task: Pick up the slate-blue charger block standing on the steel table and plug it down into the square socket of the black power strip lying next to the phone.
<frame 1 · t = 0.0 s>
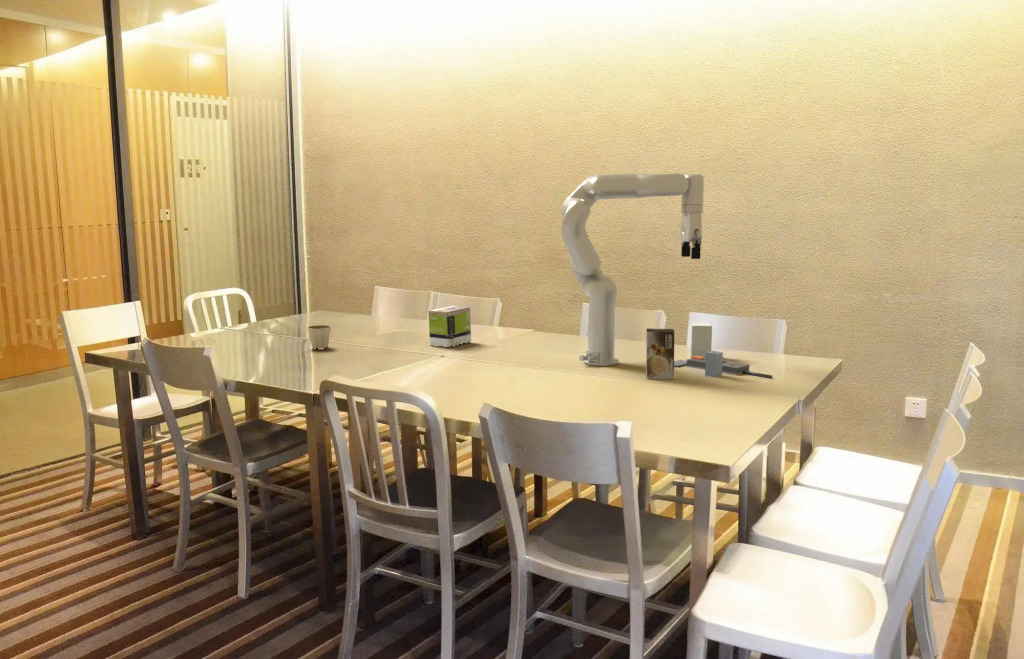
hand: (690, 257, 303), 37 cm above the table, tool pointing down, fingers open, 9 cm apart
flower pot: (320, 348, 335), on the table
power strip: (717, 368, 293), on the table
charger block: (713, 375, 283), on the table
supplement box: (700, 358, 312), on the table
coffee box: (659, 378, 281), on the table
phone: (678, 365, 302), on the table
tea box: (450, 344, 342), on the table
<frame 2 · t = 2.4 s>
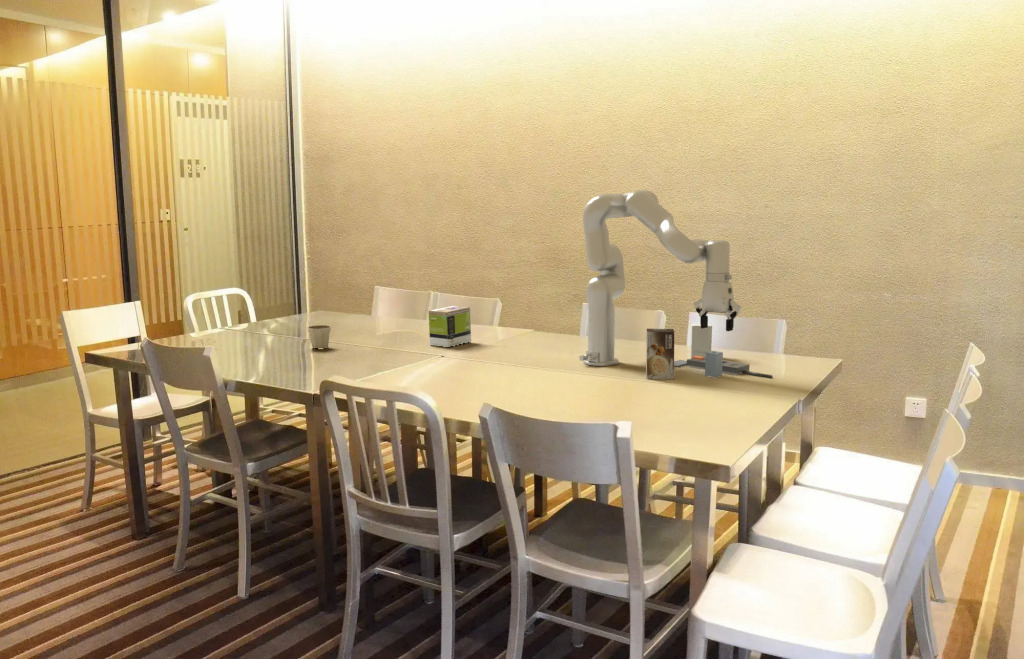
hand: (716, 329, 280), 16 cm above the table, tool pointing down, fingers open, 9 cm apart
nothing on the table moved.
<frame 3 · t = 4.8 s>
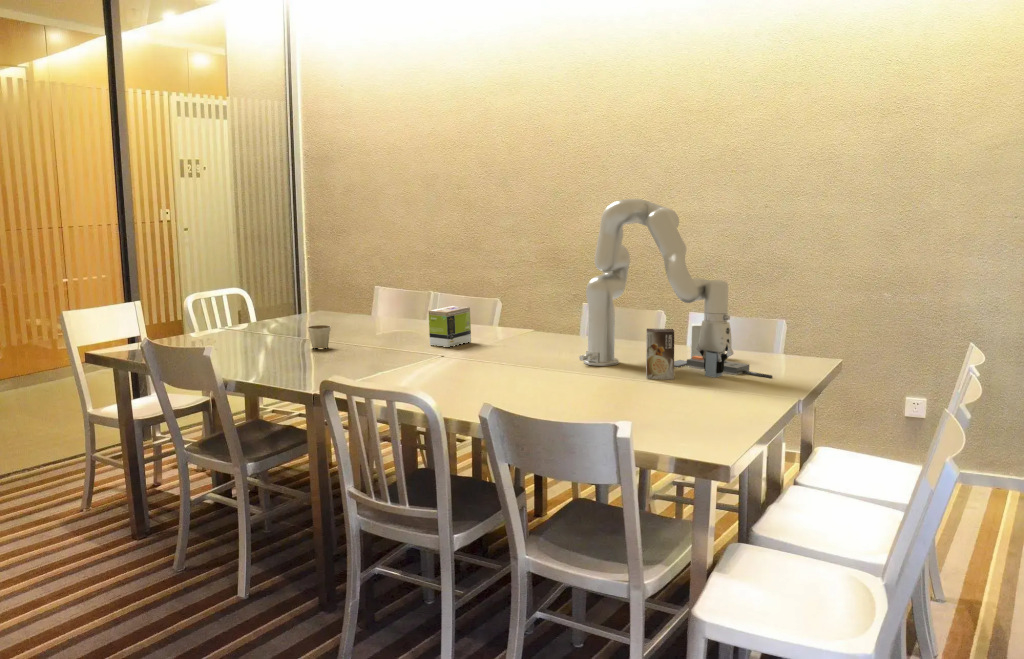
hand: (713, 371, 283), 2 cm above the table, tool pointing down, fingers closed on charger block, 4 cm apart
charger block: (713, 375, 283), on the table, touching gripper
everything else where it was.
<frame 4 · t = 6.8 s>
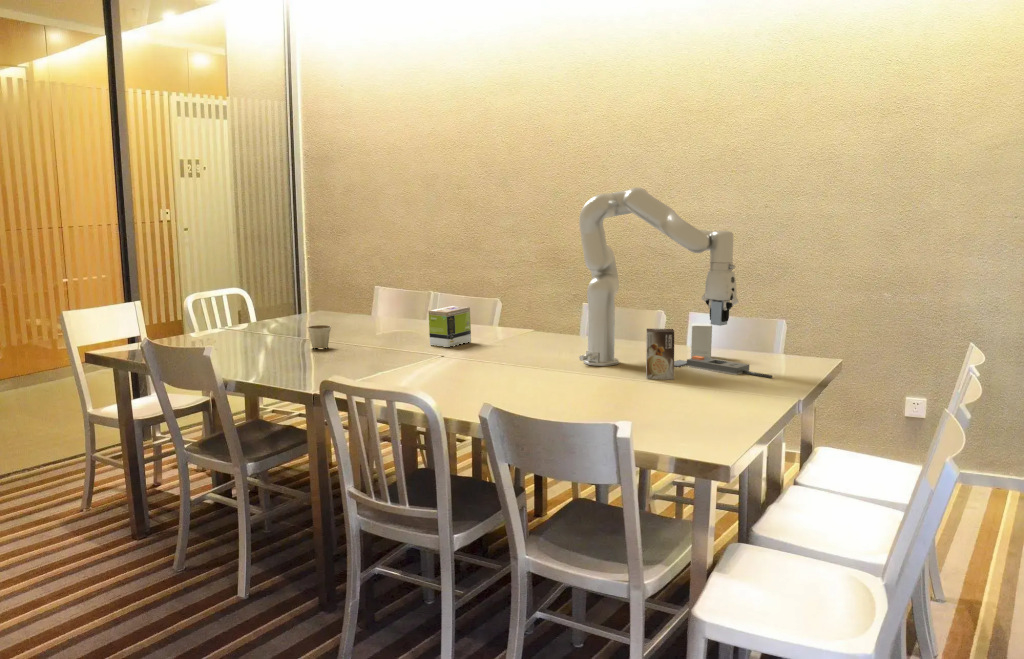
hand: (719, 320, 290), 17 cm above the table, tool pointing down, fingers closed on charger block, 4 cm apart
charger block: (718, 324, 291), point 16 cm above the table, touching gripper
everything else where it was.
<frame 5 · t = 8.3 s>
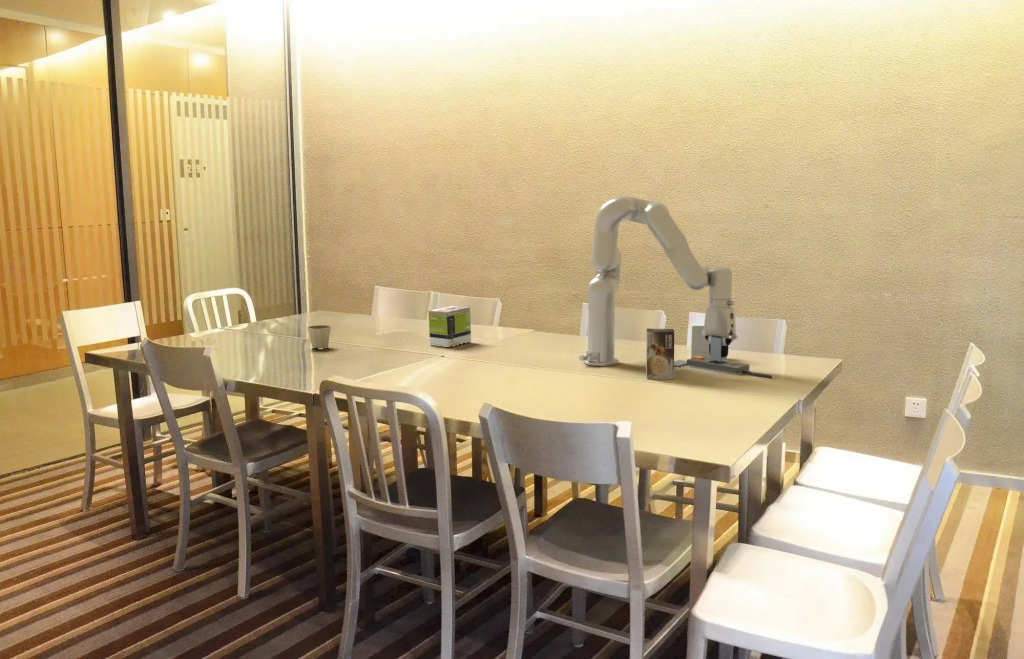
hand: (718, 355, 293), 5 cm above the table, tool pointing down, fingers closed on charger block, 4 cm apart
charger block: (718, 359, 293), point 3 cm above the table, touching gripper
everything else where it was.
when the fingers open (3 cm above the table, at t = 9.3 s): charger block drops 1 cm, resting on power strip.
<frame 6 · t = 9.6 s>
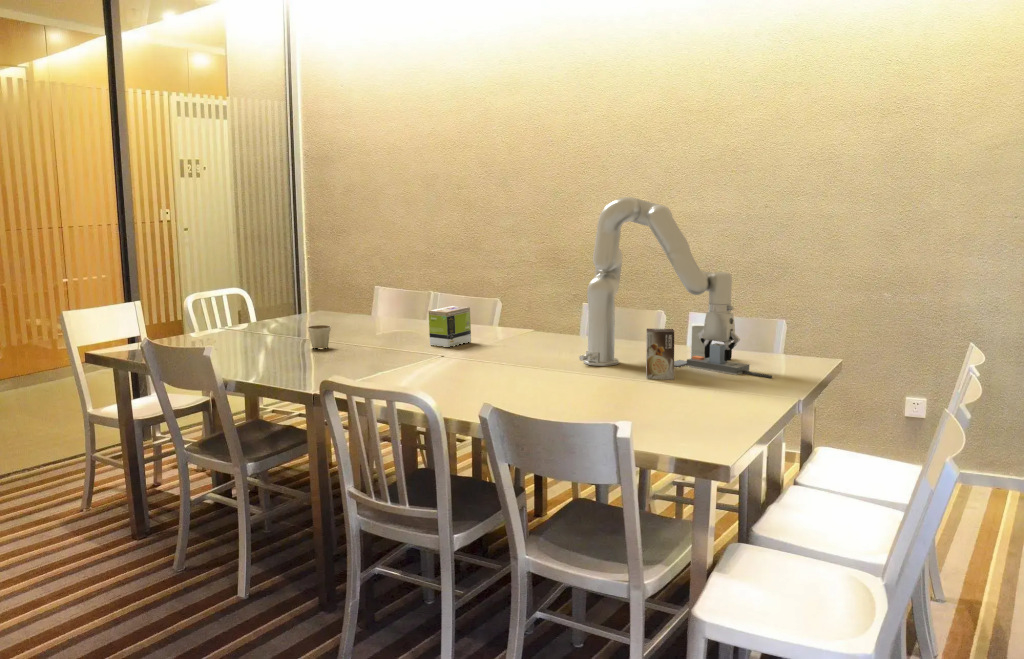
hand: (717, 358, 293), 4 cm above the table, tool pointing down, fingers open, 7 cm apart
charger block: (717, 367, 293), resting on power strip
everything else where it was.
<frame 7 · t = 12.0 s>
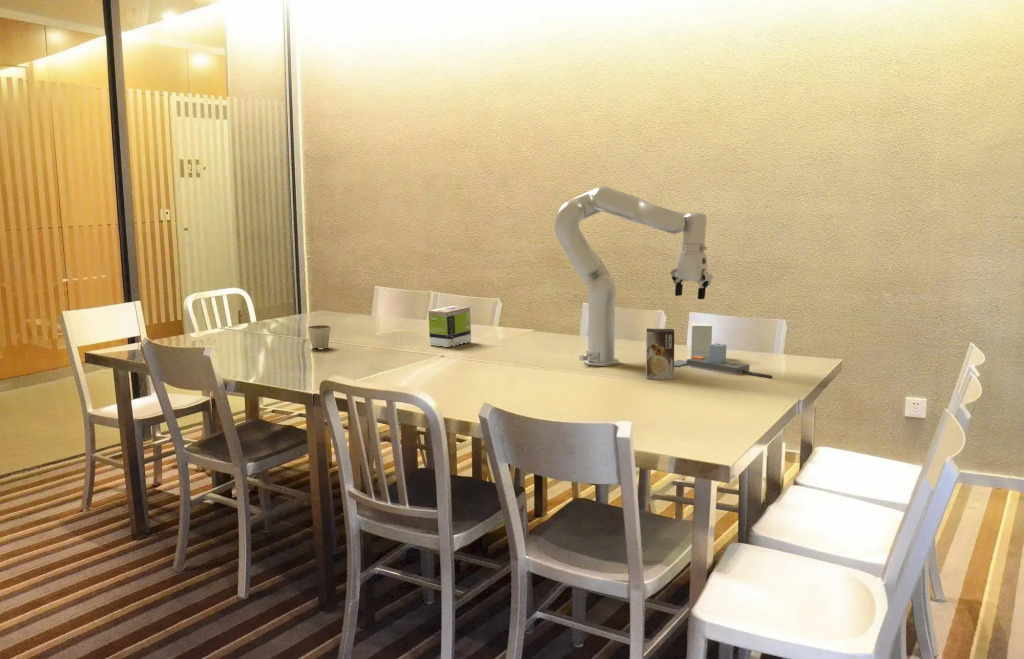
hand: (689, 297, 297), 24 cm above the table, tool pointing down, fingers open, 9 cm apart
nothing on the table moved.
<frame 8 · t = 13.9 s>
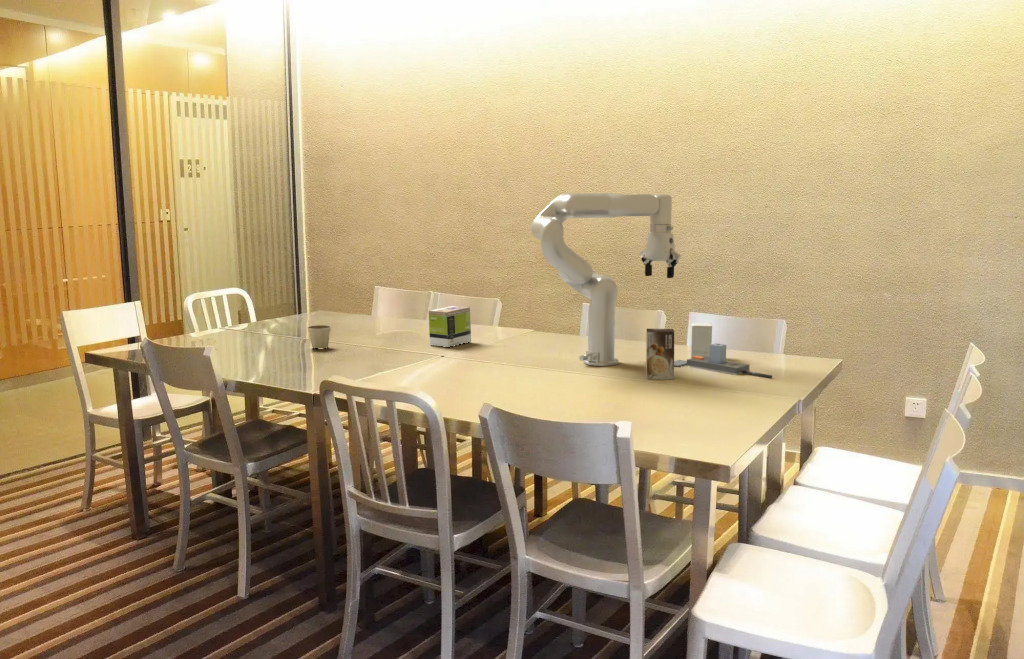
hand: (659, 276, 306), 30 cm above the table, tool pointing down, fingers open, 9 cm apart
nothing on the table moved.
at the end: charger block 0.0 cm off-centre on the power strip, point 0.5 cm above the power strip's base; charger block tilted 0°; the gripper is holding nothing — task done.
